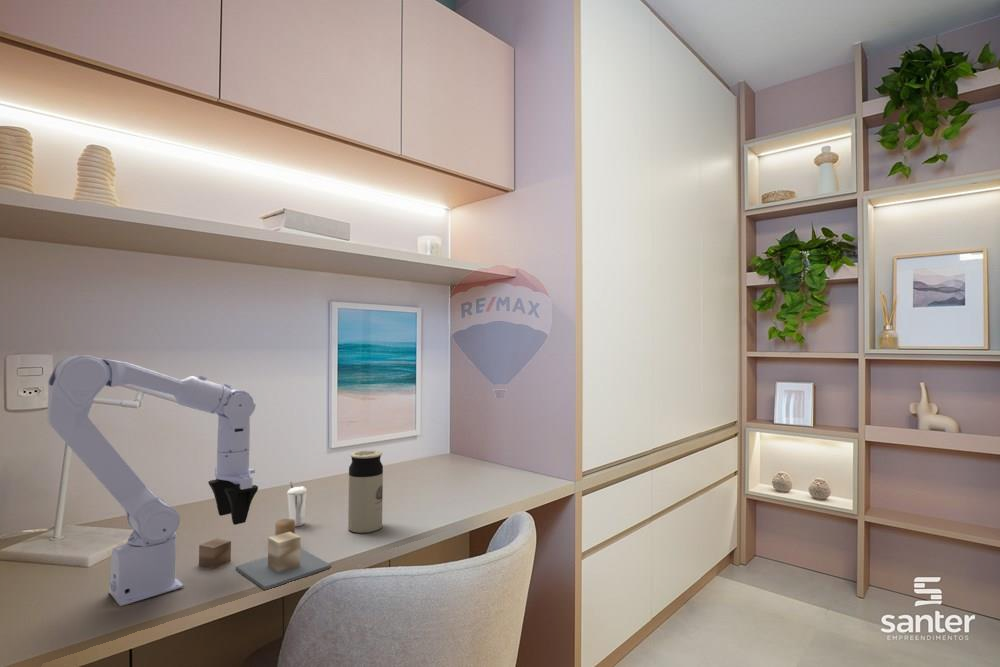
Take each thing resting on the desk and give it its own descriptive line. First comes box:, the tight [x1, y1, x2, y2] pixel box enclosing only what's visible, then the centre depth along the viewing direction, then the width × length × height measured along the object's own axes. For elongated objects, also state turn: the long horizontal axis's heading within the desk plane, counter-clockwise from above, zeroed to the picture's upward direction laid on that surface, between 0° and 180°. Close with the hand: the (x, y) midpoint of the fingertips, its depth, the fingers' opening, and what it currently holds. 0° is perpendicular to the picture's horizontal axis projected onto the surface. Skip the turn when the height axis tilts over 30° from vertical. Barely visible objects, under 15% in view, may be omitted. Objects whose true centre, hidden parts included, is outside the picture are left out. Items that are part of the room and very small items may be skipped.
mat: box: [235, 547, 332, 591], centre depth 102 cm, size 13×13×1 cm
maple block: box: [267, 532, 301, 572], centre depth 102 cm, size 4×4×6 cm
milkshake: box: [287, 481, 308, 528], centre depth 128 cm, size 4×5×10 cm
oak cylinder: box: [274, 518, 296, 536], centre depth 114 cm, size 4×4×5 cm
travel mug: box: [347, 449, 384, 534], centre depth 125 cm, size 8×8×18 cm
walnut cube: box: [198, 538, 232, 569], centre depth 105 cm, size 4×4×4 cm
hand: (232, 518), depth 103 cm, fingers open, 7 cm apart
